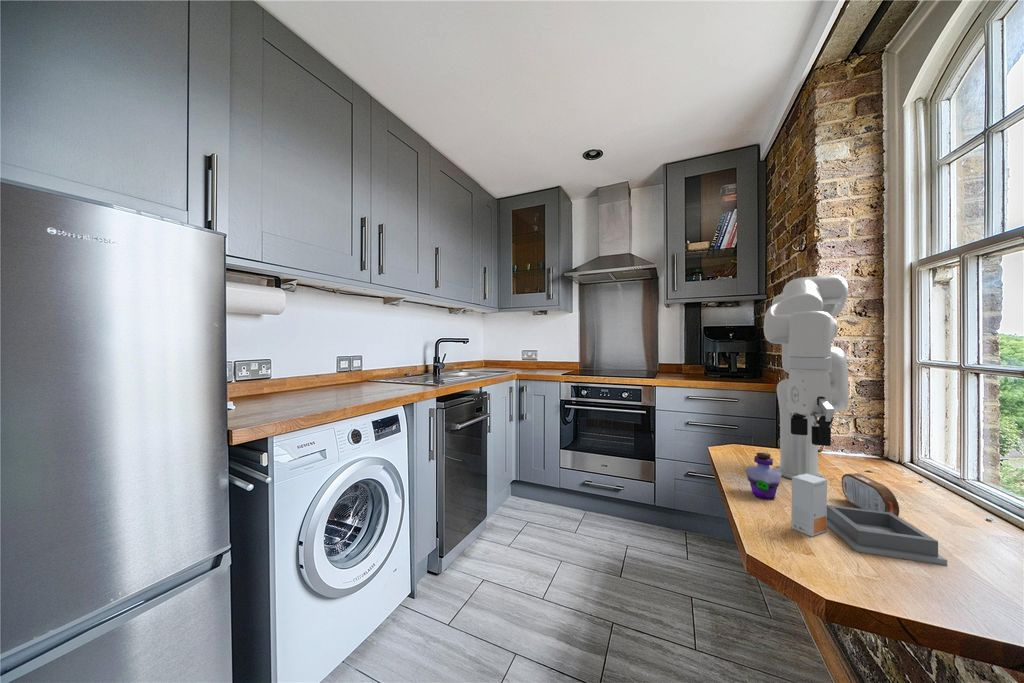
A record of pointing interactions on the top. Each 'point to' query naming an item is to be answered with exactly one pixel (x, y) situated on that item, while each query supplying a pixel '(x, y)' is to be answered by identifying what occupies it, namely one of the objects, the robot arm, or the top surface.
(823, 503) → the skincare box
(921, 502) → the top surface
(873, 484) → the tin
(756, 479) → the potion bottle
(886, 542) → the grey square tray
